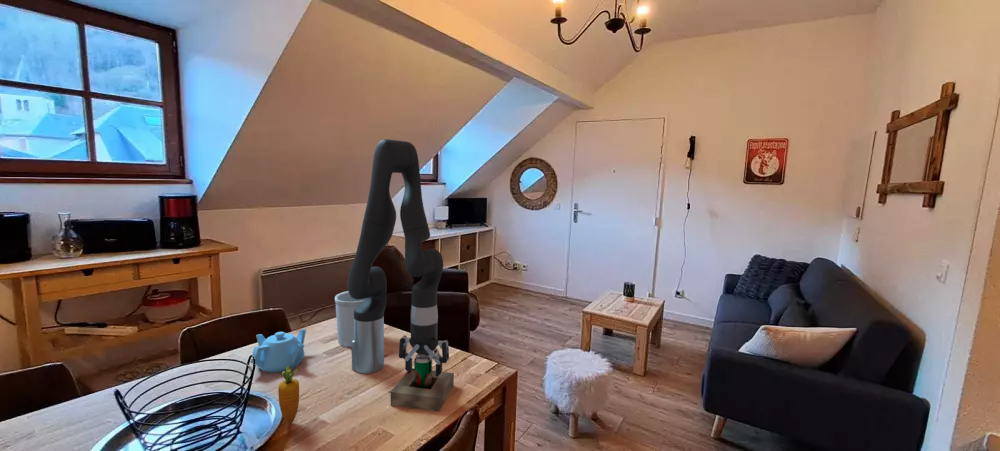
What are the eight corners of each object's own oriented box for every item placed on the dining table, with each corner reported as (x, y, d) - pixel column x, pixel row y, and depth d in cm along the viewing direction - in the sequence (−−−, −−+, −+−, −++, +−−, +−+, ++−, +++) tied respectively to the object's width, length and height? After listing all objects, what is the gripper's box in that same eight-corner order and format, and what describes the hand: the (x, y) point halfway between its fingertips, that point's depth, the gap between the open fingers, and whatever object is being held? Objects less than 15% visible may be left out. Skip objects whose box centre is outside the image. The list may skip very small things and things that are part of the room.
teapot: (257, 357, 137) (256, 327, 136) (306, 350, 143) (305, 321, 142) (250, 378, 123) (248, 345, 122) (304, 370, 129) (303, 338, 128)
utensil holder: (345, 351, 143) (344, 304, 141) (329, 338, 154) (328, 294, 152) (383, 341, 153) (383, 296, 151) (366, 329, 164) (366, 287, 162)
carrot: (284, 418, 104) (282, 363, 102) (304, 418, 105) (302, 363, 103) (275, 430, 99) (272, 373, 97) (296, 430, 100) (294, 372, 98)
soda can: (427, 401, 114) (428, 360, 112) (411, 398, 115) (411, 358, 114) (434, 391, 119) (434, 353, 117) (418, 389, 120) (418, 351, 118)
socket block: (390, 405, 111) (390, 391, 111) (409, 380, 125) (409, 368, 124) (439, 411, 109) (439, 398, 109) (453, 385, 123) (453, 373, 122)
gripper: (394, 322, 112) (395, 377, 114) (444, 326, 109) (443, 382, 111) (405, 312, 119) (405, 364, 121) (452, 317, 117) (451, 370, 119)
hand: (423, 373), depth 116 cm, fingers open, 8 cm apart
